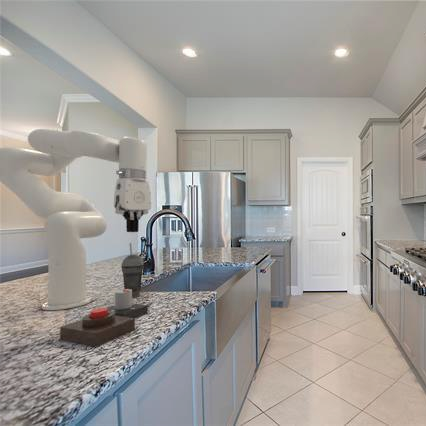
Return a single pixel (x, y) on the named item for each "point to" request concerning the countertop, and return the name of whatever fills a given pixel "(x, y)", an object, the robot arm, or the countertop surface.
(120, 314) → the knob
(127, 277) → the beverage cup
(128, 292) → the dial
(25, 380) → the countertop surface
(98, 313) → the power button
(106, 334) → the power button base
